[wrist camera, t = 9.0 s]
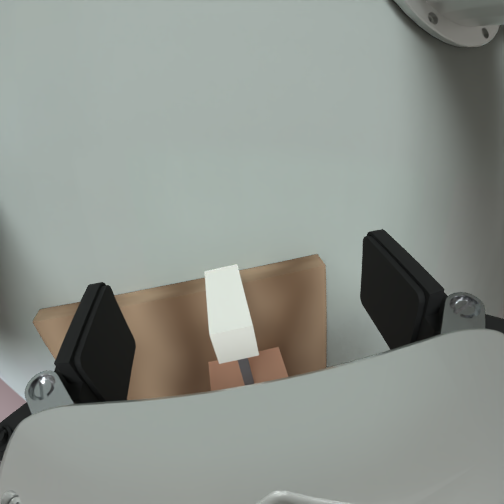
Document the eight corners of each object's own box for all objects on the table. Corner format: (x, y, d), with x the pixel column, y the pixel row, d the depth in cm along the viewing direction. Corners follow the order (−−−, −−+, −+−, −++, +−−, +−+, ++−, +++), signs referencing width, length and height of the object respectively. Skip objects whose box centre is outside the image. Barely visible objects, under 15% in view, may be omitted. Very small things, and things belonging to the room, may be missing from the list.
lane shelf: (317, 254, 21) (337, 281, 18) (319, 428, 31) (328, 453, 28) (39, 309, 19) (22, 340, 16) (144, 457, 29) (144, 483, 26)
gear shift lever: (263, 251, 18) (291, 315, 13) (284, 388, 24) (304, 450, 19) (176, 270, 18) (171, 341, 13) (223, 402, 24) (233, 465, 18)
